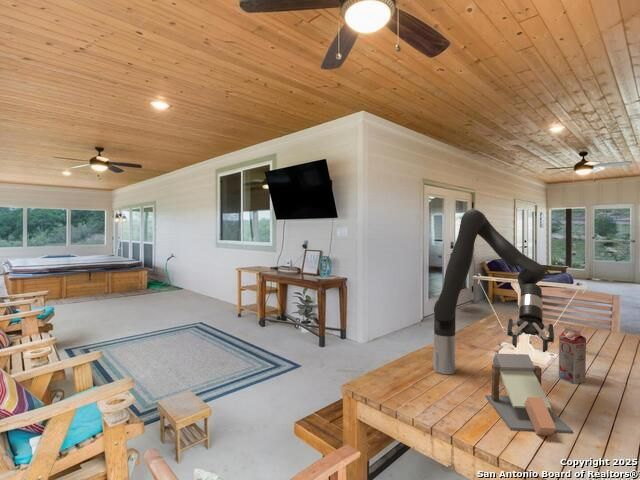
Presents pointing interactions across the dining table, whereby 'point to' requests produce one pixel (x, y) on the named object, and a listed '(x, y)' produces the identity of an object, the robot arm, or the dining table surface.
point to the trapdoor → (519, 378)
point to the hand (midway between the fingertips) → (529, 348)
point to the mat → (522, 416)
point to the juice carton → (572, 356)
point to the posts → (496, 380)
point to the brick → (539, 416)
